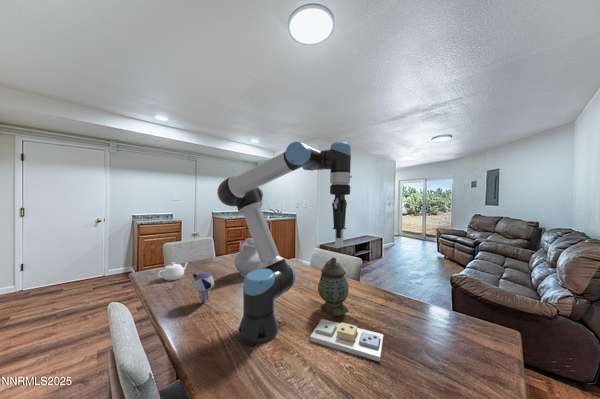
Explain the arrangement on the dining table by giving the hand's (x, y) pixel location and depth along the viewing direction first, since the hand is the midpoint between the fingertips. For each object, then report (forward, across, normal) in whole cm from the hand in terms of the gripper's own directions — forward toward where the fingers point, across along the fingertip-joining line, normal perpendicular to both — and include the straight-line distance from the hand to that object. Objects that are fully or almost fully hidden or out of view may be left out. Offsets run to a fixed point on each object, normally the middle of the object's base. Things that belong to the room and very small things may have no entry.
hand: (339, 246), depth 85 cm
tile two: (+32, -2, -4) cm, 32 cm away
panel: (+34, -2, -4) cm, 35 cm away
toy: (+35, -3, +67) cm, 75 cm away
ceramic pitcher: (+35, +39, +72) cm, 89 cm away
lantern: (+35, +18, +7) cm, 40 cm away
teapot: (+35, +13, +111) cm, 117 cm away
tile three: (+33, -2, -12) cm, 36 cm away
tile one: (+33, -2, +4) cm, 34 cm away
